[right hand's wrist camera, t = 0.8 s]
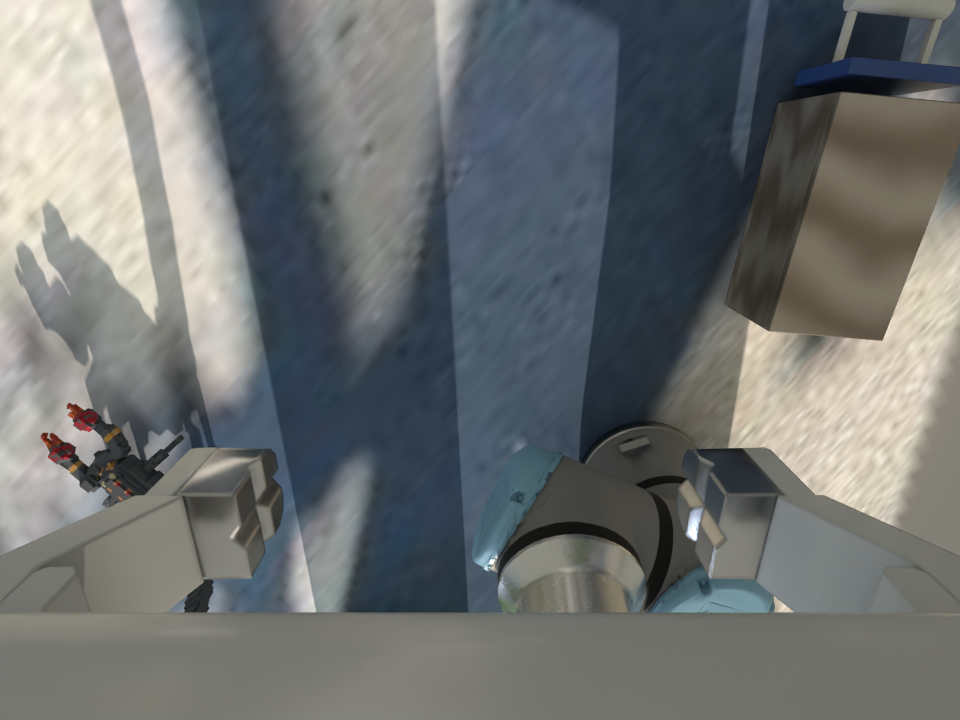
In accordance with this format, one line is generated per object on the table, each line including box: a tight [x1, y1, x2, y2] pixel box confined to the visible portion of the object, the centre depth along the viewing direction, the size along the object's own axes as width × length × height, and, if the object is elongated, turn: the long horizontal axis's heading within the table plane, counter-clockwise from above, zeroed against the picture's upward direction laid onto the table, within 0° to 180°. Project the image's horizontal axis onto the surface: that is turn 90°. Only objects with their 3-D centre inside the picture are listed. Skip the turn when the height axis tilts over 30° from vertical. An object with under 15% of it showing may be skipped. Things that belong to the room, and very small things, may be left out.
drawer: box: [794, 0, 960, 95], centre depth 47 cm, size 24×10×8 cm, turn 175°
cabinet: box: [725, 92, 960, 341], centre depth 49 cm, size 20×11×9 cm, turn 175°
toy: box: [41, 403, 214, 613], centre depth 56 cm, size 13×27×18 cm, turn 38°
